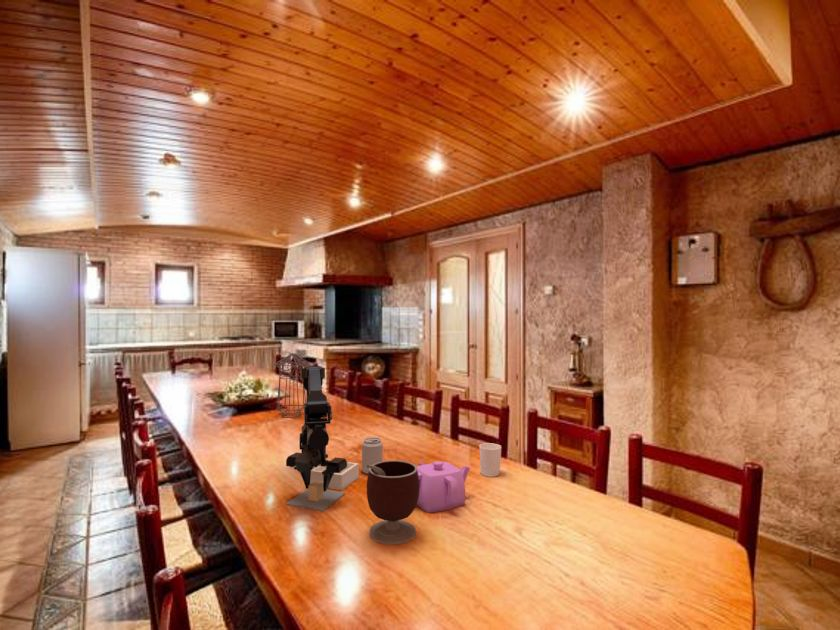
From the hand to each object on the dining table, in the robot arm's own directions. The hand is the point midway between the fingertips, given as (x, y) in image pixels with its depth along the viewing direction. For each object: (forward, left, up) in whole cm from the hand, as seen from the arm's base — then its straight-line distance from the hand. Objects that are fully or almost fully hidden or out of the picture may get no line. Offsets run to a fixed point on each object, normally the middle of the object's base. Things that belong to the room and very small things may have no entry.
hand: (316, 489), depth 139 cm
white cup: (+47, +41, -3) cm, 62 cm away
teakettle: (+36, +12, -3) cm, 38 cm away
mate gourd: (+30, -12, -3) cm, 32 cm away
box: (-2, +15, -3) cm, 15 cm away
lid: (0, 0, -4) cm, 4 cm away
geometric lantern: (-73, +92, -3) cm, 117 cm away
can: (+6, +28, -3) cm, 29 cm away
